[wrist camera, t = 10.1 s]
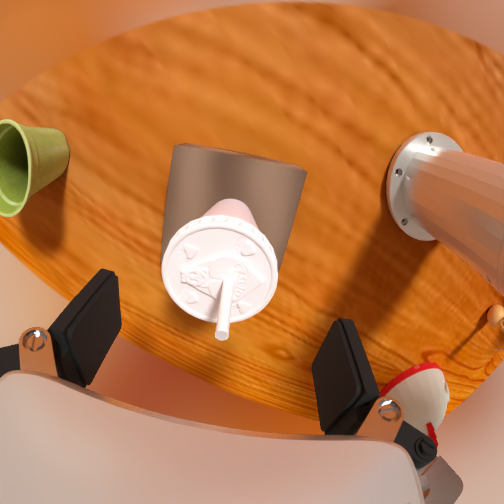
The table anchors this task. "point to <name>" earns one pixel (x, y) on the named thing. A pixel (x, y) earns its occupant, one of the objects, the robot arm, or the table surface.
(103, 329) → the robot arm
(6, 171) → the plant pot
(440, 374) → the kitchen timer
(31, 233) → the table surface
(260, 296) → the smoothie
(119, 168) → the table surface
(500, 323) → the figurine
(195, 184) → the plinth
